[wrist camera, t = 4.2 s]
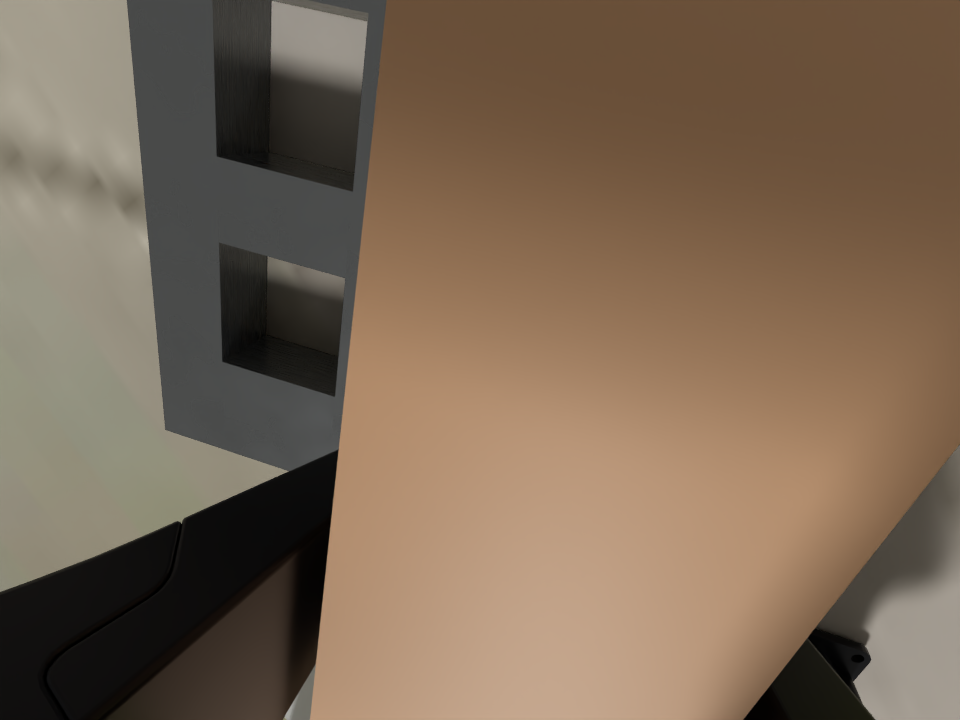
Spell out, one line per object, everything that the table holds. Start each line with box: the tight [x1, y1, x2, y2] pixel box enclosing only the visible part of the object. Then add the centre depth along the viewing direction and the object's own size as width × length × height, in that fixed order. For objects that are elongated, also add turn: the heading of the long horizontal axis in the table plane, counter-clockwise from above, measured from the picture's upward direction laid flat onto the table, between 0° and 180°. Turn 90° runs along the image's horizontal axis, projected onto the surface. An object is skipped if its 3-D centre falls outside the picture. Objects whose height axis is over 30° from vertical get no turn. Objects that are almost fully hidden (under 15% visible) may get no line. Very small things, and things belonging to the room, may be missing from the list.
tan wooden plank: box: [310, 0, 960, 720], centre depth 8 cm, size 4×12×6 cm, turn 168°
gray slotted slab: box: [127, 0, 387, 471], centre depth 19 cm, size 11×22×3 cm, turn 168°
